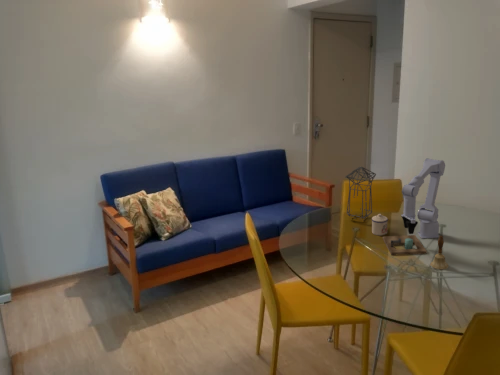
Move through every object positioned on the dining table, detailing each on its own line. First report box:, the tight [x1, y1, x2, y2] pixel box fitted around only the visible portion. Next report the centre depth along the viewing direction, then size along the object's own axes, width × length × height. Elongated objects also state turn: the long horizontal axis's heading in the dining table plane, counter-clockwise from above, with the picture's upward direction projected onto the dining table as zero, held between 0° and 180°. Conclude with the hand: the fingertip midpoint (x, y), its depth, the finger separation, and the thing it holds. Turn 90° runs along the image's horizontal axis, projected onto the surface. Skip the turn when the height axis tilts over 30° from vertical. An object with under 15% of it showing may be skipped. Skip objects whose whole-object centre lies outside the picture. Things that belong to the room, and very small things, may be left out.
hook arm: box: [391, 238, 401, 247], centre depth 232 cm, size 5×1×6 cm, turn 86°
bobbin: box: [404, 238, 414, 249], centre depth 231 cm, size 4×4×5 cm
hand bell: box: [429, 235, 449, 270], centre depth 210 cm, size 8×8×16 cm
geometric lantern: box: [345, 166, 377, 220], centre depth 269 cm, size 16×16×35 cm
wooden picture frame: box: [382, 234, 427, 256], centre depth 235 cm, size 18×20×2 cm
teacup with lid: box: [371, 213, 389, 236], centre depth 253 cm, size 12×9×12 cm
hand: (408, 230), depth 230 cm, fingers open, 7 cm apart
